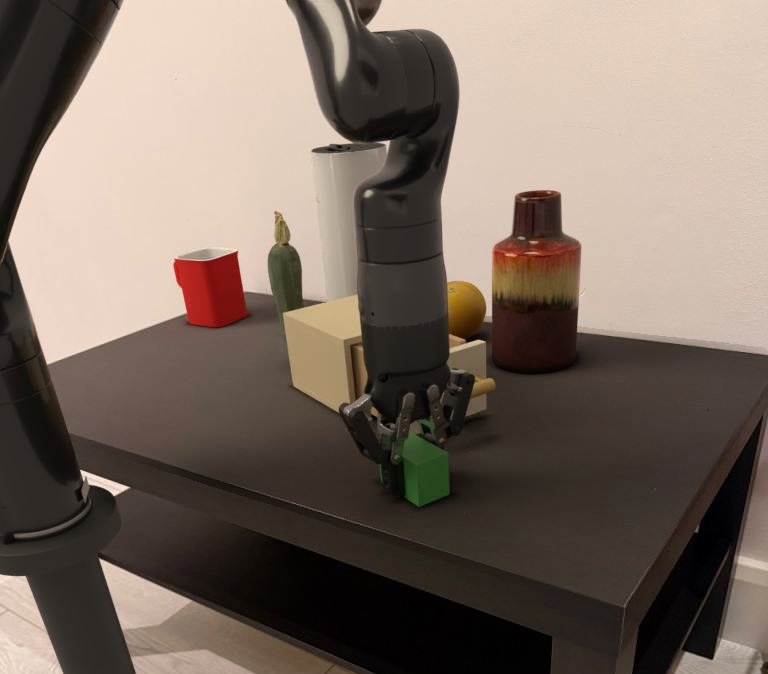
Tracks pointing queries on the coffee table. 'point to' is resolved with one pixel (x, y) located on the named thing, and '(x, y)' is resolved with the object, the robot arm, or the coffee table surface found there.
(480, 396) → the drawer
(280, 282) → the vegetable
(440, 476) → the green rectangular prism
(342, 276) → the speaker
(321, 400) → the cabinet
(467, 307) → the fruit
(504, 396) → the coffee table surface
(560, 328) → the vase
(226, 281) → the mug
